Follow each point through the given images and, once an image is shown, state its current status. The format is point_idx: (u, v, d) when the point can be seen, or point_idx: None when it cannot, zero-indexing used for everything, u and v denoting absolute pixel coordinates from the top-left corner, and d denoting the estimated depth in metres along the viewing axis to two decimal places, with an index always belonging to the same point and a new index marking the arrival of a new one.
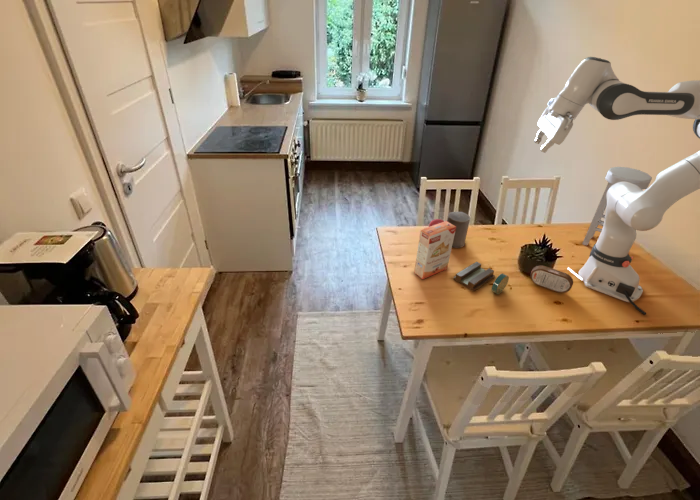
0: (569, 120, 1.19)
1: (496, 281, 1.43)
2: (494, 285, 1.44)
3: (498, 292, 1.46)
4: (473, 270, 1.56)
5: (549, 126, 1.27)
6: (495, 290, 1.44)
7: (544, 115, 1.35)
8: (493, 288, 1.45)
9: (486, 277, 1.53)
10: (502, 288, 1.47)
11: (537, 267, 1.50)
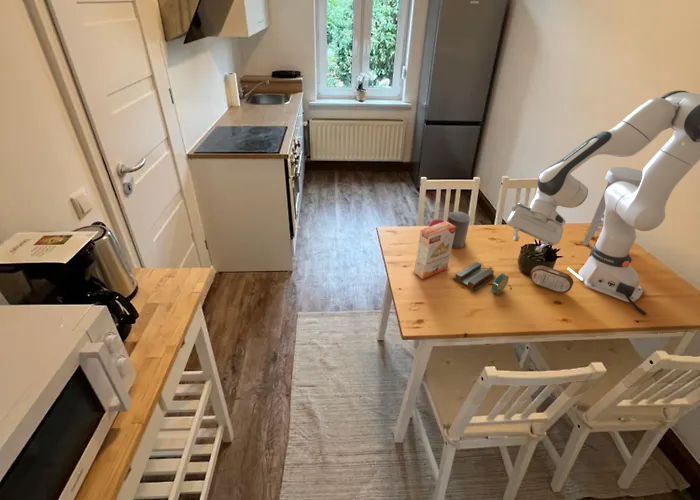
0: None
1: (496, 281, 1.43)
2: (494, 285, 1.44)
3: (498, 292, 1.46)
4: (473, 270, 1.56)
5: None
6: (495, 290, 1.44)
7: None
8: (493, 288, 1.45)
9: (486, 277, 1.53)
10: (502, 288, 1.47)
11: (537, 267, 1.50)
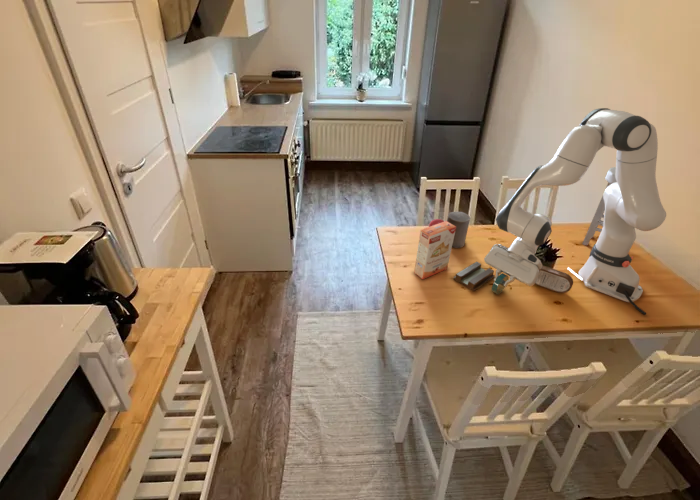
0: None
1: (496, 281, 1.43)
2: (494, 285, 1.44)
3: (498, 292, 1.46)
4: (473, 270, 1.56)
5: None
6: (495, 290, 1.44)
7: None
8: (493, 288, 1.45)
9: (486, 277, 1.53)
10: (502, 288, 1.47)
11: None
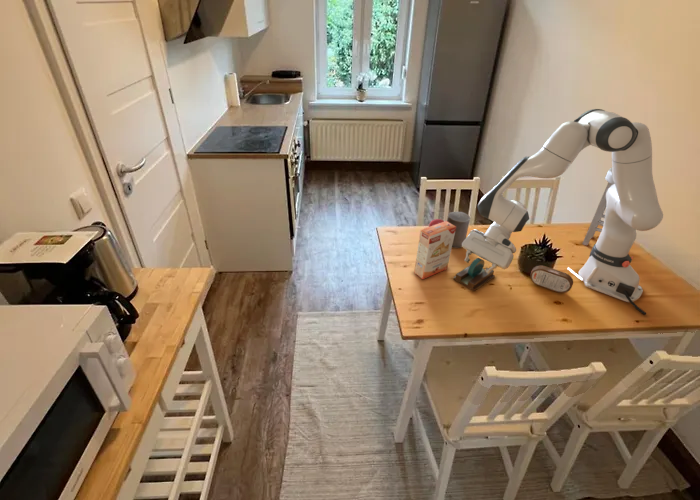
0: None
1: (472, 265, 1.50)
2: (470, 269, 1.50)
3: (474, 276, 1.53)
4: None
5: None
6: (471, 274, 1.51)
7: None
8: (469, 272, 1.51)
9: (486, 277, 1.53)
10: (478, 272, 1.54)
11: (537, 267, 1.50)
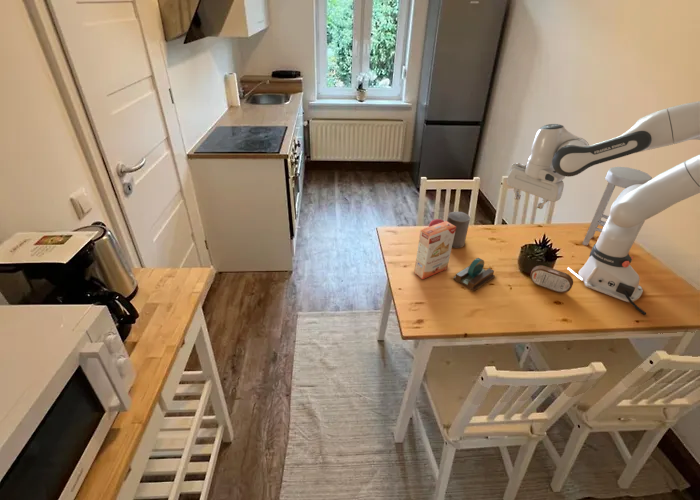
0: None
1: (472, 265, 1.50)
2: (470, 269, 1.50)
3: (474, 276, 1.53)
4: None
5: None
6: (471, 274, 1.51)
7: None
8: (469, 272, 1.51)
9: (486, 277, 1.53)
10: (478, 272, 1.54)
11: (537, 267, 1.50)
